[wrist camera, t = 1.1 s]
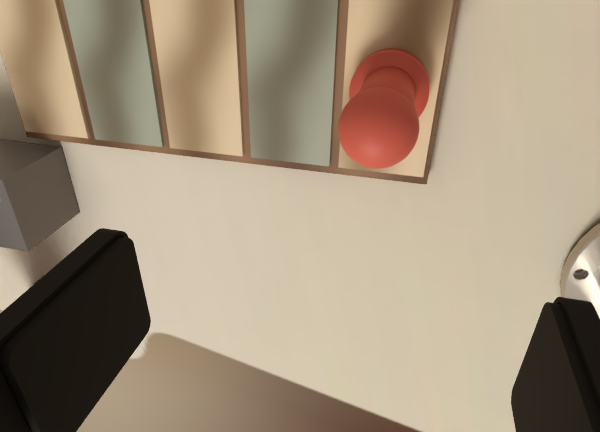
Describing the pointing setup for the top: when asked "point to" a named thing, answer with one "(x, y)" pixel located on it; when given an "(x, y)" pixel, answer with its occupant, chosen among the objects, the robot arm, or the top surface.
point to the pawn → (384, 108)
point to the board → (217, 74)
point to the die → (33, 193)
